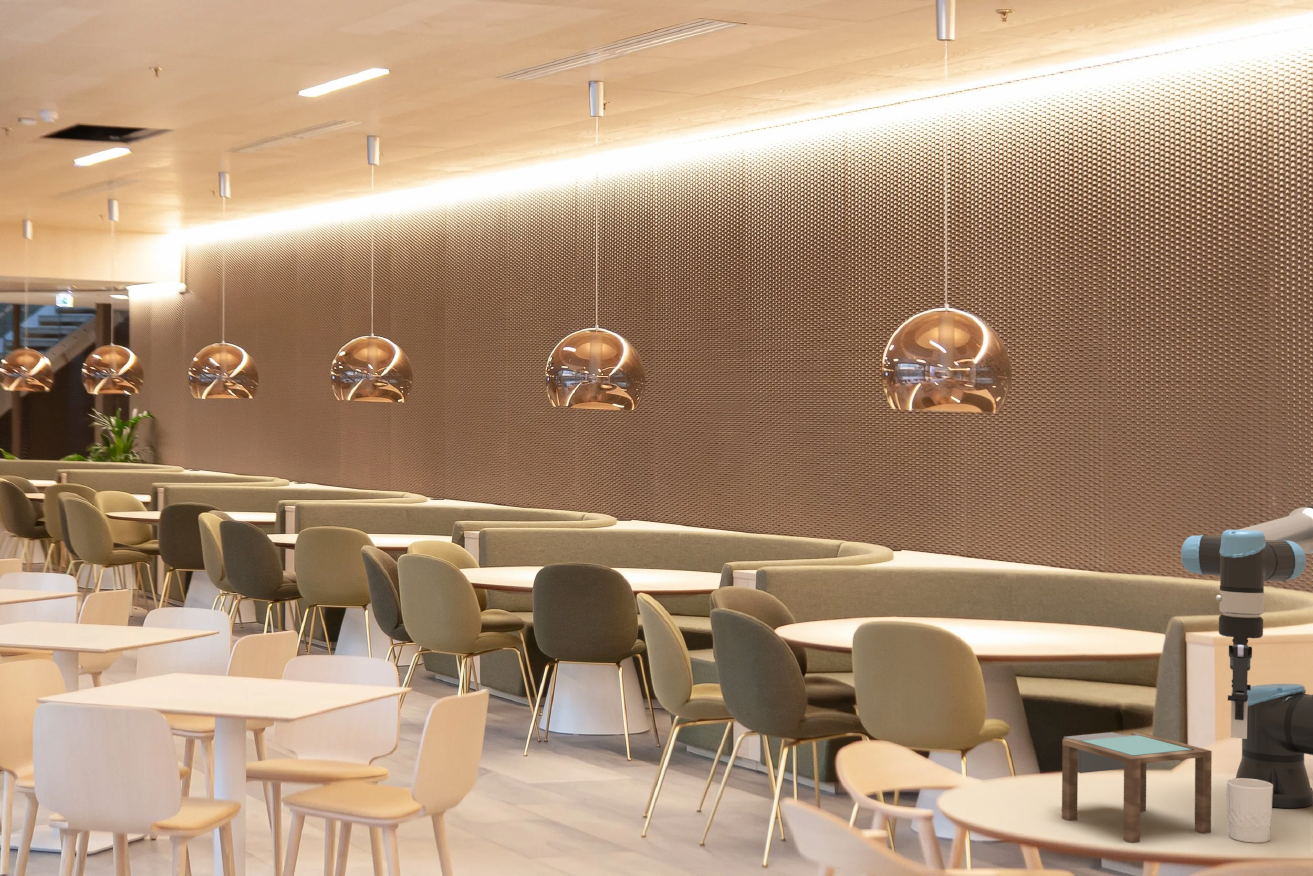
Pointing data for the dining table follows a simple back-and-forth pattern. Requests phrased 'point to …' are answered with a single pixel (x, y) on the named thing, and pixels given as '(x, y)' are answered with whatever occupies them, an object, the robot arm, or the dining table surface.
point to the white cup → (1249, 809)
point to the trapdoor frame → (1138, 781)
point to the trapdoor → (1118, 750)
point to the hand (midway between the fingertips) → (1238, 732)
